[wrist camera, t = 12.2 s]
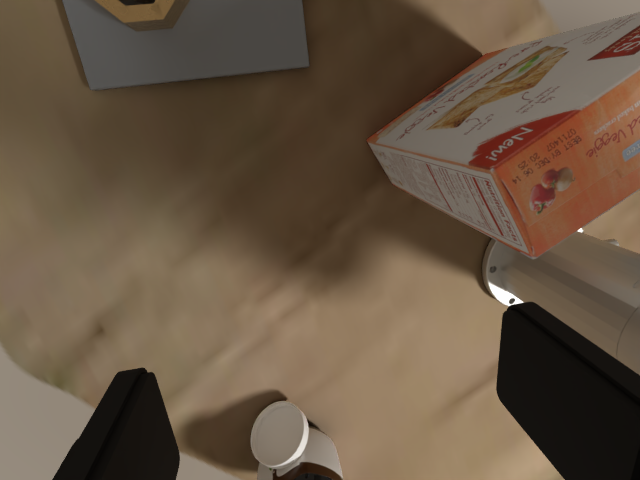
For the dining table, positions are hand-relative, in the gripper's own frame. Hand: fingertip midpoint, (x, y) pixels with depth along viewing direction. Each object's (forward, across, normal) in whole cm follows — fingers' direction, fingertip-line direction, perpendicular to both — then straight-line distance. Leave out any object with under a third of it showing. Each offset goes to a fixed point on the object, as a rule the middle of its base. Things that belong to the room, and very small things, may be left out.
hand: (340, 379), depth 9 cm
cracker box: (+28, -15, -5) cm, 32 cm away
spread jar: (+28, +4, +32) cm, 42 cm away
